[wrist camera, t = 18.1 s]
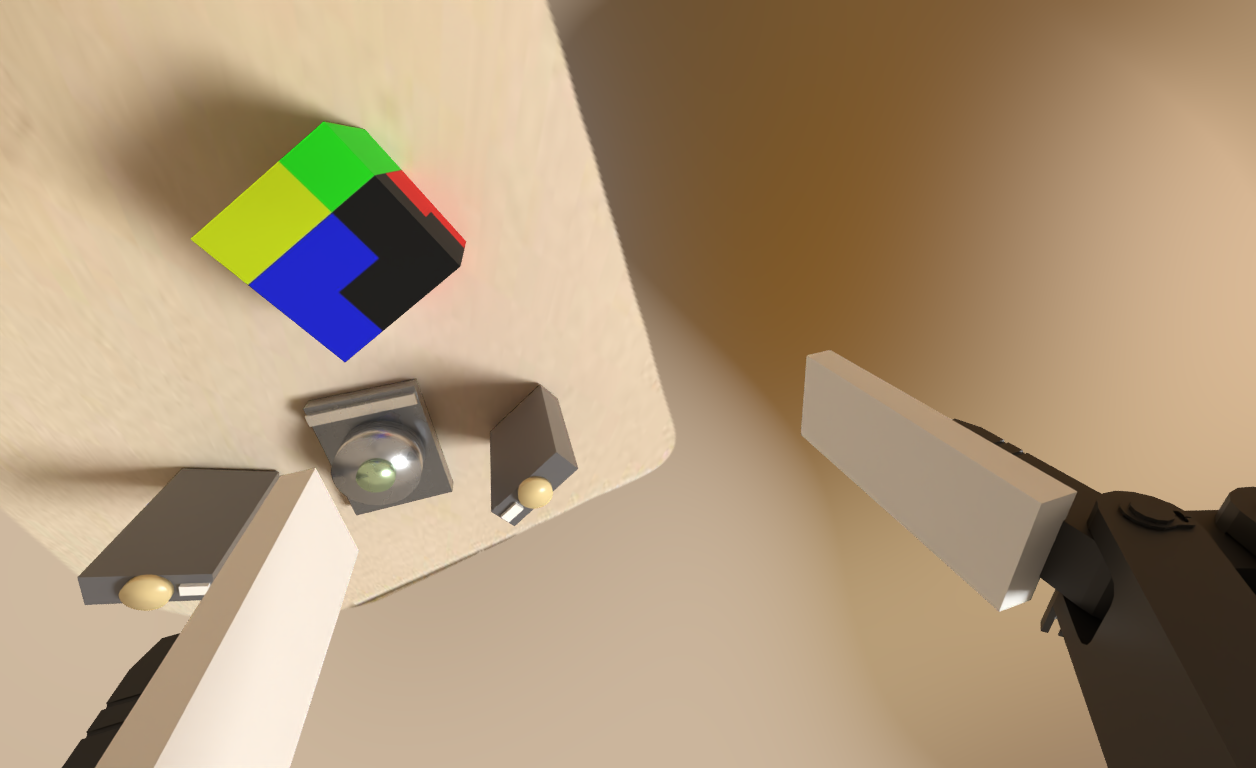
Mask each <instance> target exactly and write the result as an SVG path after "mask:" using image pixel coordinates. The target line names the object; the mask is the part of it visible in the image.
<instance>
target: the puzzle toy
mask: <svg viewBox="0 0 1256 768" xmlns="http://www.w3.org/2000/svg"><path fill="white" fill-rule="evenodd" d="M191 240H192V241H193V242H195V243H196V244H197V245H198V246H200V247H201V248H202V249H203V250H205V251H206V252H207V253H208V254H210V255H211V256H212V257H213V258H215V259H216V260H217V261H218V262H220V263H221V264H222V265H223V266H225V267H226V268H227V269H228V270H230V271H231V272H232V273H233V274H235V275H236V276H237V277H239V278H240V279H241V280H242V281H244V282H245V283H246V284H247V285H249V286H250V287H251V288H252V289H254V290H255V291H256V292H257V293H259V294H260V295H261V296H262V297H264V298H265V299H266V300H267V301H269V302H270V303H271V304H272V305H274V306H275V307H276V308H277V309H279V310H280V311H281V312H282V313H284V314H285V315H286V316H287V317H289V318H290V319H291V320H292V321H294V322H295V323H296V324H297V325H299V326H300V327H301V328H302V329H304V330H305V331H306V332H307V333H309V334H310V335H311V336H312V337H314V338H315V339H316V340H318V341H319V342H320V343H321V344H323V345H324V346H325V347H326V348H328V349H329V350H330V351H331V352H333V353H334V354H335V355H336V356H338V357H339V358H340V359H341V360H343V361H344V362H346V361H347V360H349V359H350V358H351V357H352V356H353V355H355V354H356V353H357V352H358V351H359V350H361V349H362V348H363V347H364V346H365V345H367V344H368V343H369V342H370V341H371V340H373V339H374V338H375V337H376V336H377V335H379V334H380V333H381V332H382V331H383V330H385V329H386V328H387V327H388V326H389V325H391V324H392V323H393V322H394V321H395V320H397V319H398V318H399V317H400V316H401V315H403V314H404V313H405V312H406V311H407V310H409V309H410V308H411V307H412V306H413V305H415V304H416V303H417V302H418V301H419V300H421V299H422V298H423V297H424V296H425V295H427V294H428V293H429V292H430V291H432V290H433V289H434V288H435V287H436V286H438V285H439V284H440V283H441V282H442V281H444V280H445V279H446V278H447V277H448V276H450V275H451V274H452V273H453V272H454V271H456V270H457V269H458V268H459V267H460V266H461V261H462V257H463V253H464V248H465V244H466V241H465V240H464V239H463V238H462V236H461V235H460V234H459V233H458V232H457V231H456V230H455V229H454V228H453V226H452V225H451V224H450V223H449V222H448V221H447V220H446V219H445V218H444V217H443V215H442V214H441V213H440V212H439V211H438V210H437V209H436V208H435V207H434V205H433V204H432V203H431V202H430V201H429V200H428V199H427V198H426V197H425V195H424V194H423V193H422V192H421V191H420V190H419V189H418V188H417V187H416V186H415V184H414V183H413V182H412V181H411V180H410V179H409V178H408V177H407V176H406V174H405V173H404V172H403V171H402V170H401V169H400V168H399V167H398V166H397V164H396V163H395V162H394V161H393V160H392V159H391V158H390V157H389V156H388V154H387V153H386V152H385V151H384V150H383V149H382V148H381V147H380V146H379V145H378V143H377V142H376V141H375V140H374V139H373V138H372V137H371V136H370V135H369V133H368V132H367V131H366V130H365V129H361V128H356V127H350V126H345V125H340V124H335V123H330V122H325V121H324V122H322V123H321V124H320V125H319V126H318V127H317V128H316V129H315V130H313V131H312V132H311V133H310V134H309V135H308V136H307V137H305V138H304V139H303V140H302V141H301V142H300V143H299V144H297V145H296V146H295V147H294V148H293V149H292V150H291V151H290V152H288V153H287V154H286V155H285V156H284V157H283V158H282V159H280V160H279V161H278V162H277V163H276V164H275V165H274V166H273V167H271V168H270V169H269V170H268V171H267V172H266V173H265V174H263V175H262V176H261V177H260V178H259V179H258V180H257V181H256V182H254V183H253V184H252V185H251V186H250V187H249V188H248V189H246V190H245V191H244V192H243V193H242V194H241V195H240V196H239V197H237V198H236V199H235V200H234V201H233V202H232V203H231V204H229V205H228V206H227V207H226V208H225V209H224V210H223V211H222V212H220V213H219V214H218V215H217V216H216V217H215V218H214V219H212V220H211V221H210V222H209V223H208V224H207V225H206V226H205V227H203V228H202V229H201V230H200V231H199V232H198V233H197V234H195V235H194V236H193V237H192V238H191Z"/></svg>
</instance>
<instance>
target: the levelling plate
mask: <svg viewBox="0 0 1256 768" xmlns="http://www.w3.org/2000/svg"><path fill="white" fill-rule="evenodd" d="M303 410H304V412H305V414H306V416H305V419H306V421H307V423H308V425H309V427H312V428H313V430H314V432H315V434H316V436H317V438H318V440H319V442H320V444H321V446H322V448H323V450H324V452H325V454H326V456H327V458H328V460H329V462H330V464H331V466H332V467H331V475H332V479H333V481H334V484H335V485H336V487H337V488H338V489H339V491H341V492H342V493H343V494H344V495H345V496H347V498H348V500H349V502H350V504H351V506H352V508H353V510H354V512H355V514H356V515H360V514H364V513H368V512H372V511H376V510H380V509H384V508H388V507H392V506H396V505H400V504H404V503H408V502H412V501H416V500H420V499H424V498H428V497H432V496H436V495H440V494H444V493H448V492H452V490H453V480H452V477H451V475H450V472H449V469H448V466H447V463H446V461H445V458H444V455H443V452H442V449H441V447H440V444H439V441H438V438H437V435H436V433H435V430H434V427H433V424H432V421H431V419H430V416H429V413H428V410H427V407H426V405H425V402H424V399H423V396H422V393H421V391H420V388H419V385H418V382H417V379H413V380H408V381H403V382H398V383H394V384H389V385H384V386H379V387H374V388H369V389H364V390H359V391H354V392H349V393H345V394H340V395H335V396H330V397H325V398H320V399H315V400H310V401H308V403H307V404H306V406H305V407H304V408H303Z"/></svg>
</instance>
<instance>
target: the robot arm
mask: <svg viewBox="0 0 1256 768" xmlns="http://www.w3.org/2000/svg"><path fill="white" fill-rule="evenodd" d="M801 435H802V436H803V437H804V438H805V439H806V440H808V441H809V442H810V443H811V444H812V445H813V446H814V447H815V448H816V449H818V450H819V451H820V452H821V453H822V454H823V455H824V456H825V457H827V458H828V459H829V460H830V461H831V462H832V463H833V464H834V465H835V466H837V467H838V468H839V469H840V470H841V471H842V472H843V473H845V474H846V475H847V476H848V477H849V478H850V479H851V480H852V481H853V482H855V483H856V484H857V485H858V486H859V487H860V488H862V490H863V491H865V492H866V493H867V494H868V495H869V496H870V497H871V498H873V499H874V500H875V501H876V502H877V503H878V504H879V505H880V506H881V507H883V508H884V509H885V510H886V511H887V512H888V513H889V514H890V515H891V516H893V517H894V518H895V519H896V520H897V521H898V522H899V523H900V524H902V525H903V526H904V527H905V528H906V529H907V530H908V531H910V532H911V533H912V534H913V535H914V536H915V537H916V538H917V539H918V540H919V541H921V542H922V543H923V544H924V545H925V546H926V547H927V548H928V549H929V550H931V551H932V552H933V553H934V554H935V555H936V556H937V557H938V558H940V559H941V560H942V561H943V562H944V563H945V564H946V565H947V566H949V567H950V568H951V569H952V570H953V571H954V572H955V573H956V574H957V575H959V576H960V577H961V578H962V579H963V580H964V581H965V582H967V584H969V585H970V586H971V587H972V588H973V589H974V590H975V591H977V592H978V593H979V594H980V595H981V596H982V597H983V598H984V599H985V600H987V601H988V602H989V603H990V604H991V605H992V606H993V607H994V608H996V609H997V610H998V611H1002V610H1005V609H1007V608H1010V607H1013V606H1016V605H1018V604H1021V603H1024V602H1026V601H1029V600H1031V598H1032V596H1033V593H1034V591H1035V589H1036V586H1037V584H1038V582H1039V580H1040V578H1042V579H1043V580H1044V581H1046V582H1047V583H1048V584H1050V585H1051V586H1052V587H1054V588H1055V592H1054V594H1053V596H1052V598H1051V600H1050V602H1049V605H1048V607H1047V609H1046V611H1045V613H1044V615H1043V618H1042V620H1041V631H1043V632H1047V633H1048V632H1049V630H1050V628H1051V625H1052V623H1053V621H1054V619H1058V622H1059V625H1060V628H1061V629H1060V631H1059V633H1058V635H1059V636H1062V637H1064V640H1065V643H1066V646H1067V649H1068V652H1069V655H1070V658H1071V660H1072V663H1073V666H1074V669H1075V672H1076V675H1077V678H1078V681H1079V684H1080V687H1081V690H1082V693H1083V696H1084V698H1085V702H1086V705H1087V707H1088V710H1089V713H1090V716H1091V719H1092V722H1093V725H1094V728H1095V731H1096V734H1097V736H1098V740H1099V743H1100V746H1101V749H1102V752H1103V754H1104V757H1105V760H1106V763H1107V766H1108V768H1256V487H1244V488H1237V489H1235V490H1233V491H1232V492H1230V493H1229V495H1228V496H1227V498H1226V499H1225V501H1224V503H1223V504H1222V506H1221V508H1220V509H1219V510H1205V511H1204V510H1202V511H1184V510H1182V509H1180V508H1178V507H1176V506H1175V505H1173V504H1171V503H1168V502H1165V501H1163V500H1160V499H1158V498H1155V497H1152V496H1148V495H1143V494H1139V493H1135V492H1126V491H1113V492H1108V493H1103V494H1101V493H1099V492H1097V491H1095V490H1093V489H1091V488H1090V487H1088V486H1086V485H1084V484H1082V483H1081V482H1079V481H1077V480H1075V479H1074V478H1072V477H1070V476H1068V475H1066V474H1065V473H1063V472H1061V471H1059V470H1057V469H1056V468H1054V467H1052V466H1050V465H1048V464H1046V463H1045V462H1043V461H1041V460H1039V459H1037V458H1036V457H1034V456H1032V455H1030V454H1028V453H1026V454H1024V453H1023V450H1021V449H1019V448H1017V447H1016V446H1014V445H1012V444H1010V443H1005V442H1004V440H1003V439H1001V438H1000V437H997V436H996V435H994V434H992V433H991V432H988V431H987V430H985V429H983V428H981V427H978V426H975V425H972V424H969V423H966V422H963V421H960V420H957V419H953V420H951V419H950V418H948V417H946V416H944V415H943V414H941V413H939V412H937V411H935V410H934V409H932V408H930V407H929V406H927V405H925V404H923V403H922V402H920V401H918V400H916V399H915V398H913V397H911V396H909V395H908V394H906V393H904V392H903V391H901V390H899V389H897V388H895V387H894V386H892V385H890V384H888V383H887V382H885V381H883V380H882V379H880V378H878V377H876V376H875V375H873V374H871V373H869V372H868V371H866V370H864V369H862V368H861V367H859V366H857V365H855V364H854V363H852V362H850V361H848V360H846V359H845V358H843V357H841V356H840V355H838V354H836V353H834V352H832V351H831V350H829V351H824V352H820V353H815V354H811V355H807V361H806V374H805V387H804V400H803V414H802V427H801ZM358 552H359V550H358V548H357V546H356V544H355V542H354V540H353V539H352V537H351V535H350V533H349V531H348V529H347V527H346V525H345V523H344V521H343V519H342V517H341V515H340V514H339V512H338V510H337V508H336V506H335V504H334V502H333V500H332V498H331V496H330V494H329V492H328V491H327V489H326V487H325V485H324V483H323V481H322V479H321V477H320V475H319V473H318V471H317V469H316V468H312V469H308V470H304V471H299V472H295V473H291V474H286V475H282V476H280V477H279V479H278V480H277V482H276V484H275V485H274V487H273V488H272V490H271V491H270V493H269V495H268V496H267V498H266V499H265V501H264V502H263V504H262V506H261V507H260V509H259V510H258V512H257V513H256V515H255V517H254V518H253V520H252V521H251V523H250V524H249V526H248V528H247V529H246V531H245V532H244V534H243V535H242V537H241V539H240V540H239V542H238V543H237V545H236V546H235V548H234V550H233V551H232V553H231V554H230V556H229V557H228V559H227V561H226V562H225V564H224V565H223V567H222V569H221V570H220V572H219V573H218V575H217V576H216V578H215V580H214V581H213V583H212V584H211V586H210V587H209V589H208V591H207V592H206V594H205V595H204V597H203V598H202V600H201V602H200V603H199V605H198V606H197V608H196V609H195V611H194V613H193V614H192V616H191V617H190V619H189V620H188V622H187V624H186V625H185V627H184V628H183V630H182V631H181V633H179V634H176V635H172V636H168V637H165V638H162V639H161V640H160V641H159V642H158V643H157V644H156V645H155V646H154V647H152V648H151V649H150V650H149V651H148V652H147V653H146V654H145V655H144V656H143V657H142V658H141V659H140V660H139V661H138V662H137V663H136V664H135V665H134V666H133V667H132V668H131V669H130V670H129V671H128V673H127V674H126V675H125V677H124V678H123V680H122V681H121V683H120V684H119V686H118V687H117V689H116V690H115V691H114V693H113V694H112V696H111V697H110V699H109V700H108V702H107V708H106V709H104V710H101V712H100V713H99V715H98V716H97V718H96V719H95V720H94V722H93V723H92V725H91V726H90V728H89V729H88V731H87V737H86V738H85V739H82V740H81V741H80V742H79V744H78V745H77V747H76V748H75V749H74V751H73V752H72V754H71V755H70V757H69V758H68V760H67V761H66V763H65V764H64V765H63V767H62V768H290V765H291V762H292V759H293V756H294V753H295V750H296V746H297V743H298V740H299V737H300V734H301V731H302V728H303V725H304V721H305V718H306V715H307V712H308V709H309V706H310V703H311V699H312V696H313V693H314V690H315V687H316V684H317V680H318V677H319V674H320V671H321V668H322V665H323V662H324V659H325V655H326V652H327V649H328V646H329V643H330V639H331V636H332V634H333V630H334V627H335V624H336V621H337V618H338V615H339V612H340V608H341V605H342V602H343V599H344V596H345V593H346V590H347V586H348V583H349V580H350V577H351V574H352V571H353V568H354V564H355V561H356V558H357V555H358Z"/></svg>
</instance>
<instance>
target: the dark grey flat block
mask: <svg viewBox="0 0 1256 768" xmlns="http://www.w3.org/2000/svg"><path fill="white" fill-rule="evenodd" d="M278 479H279V472H271V471H242V470H212V469H183V468H182V469H181V470H180V471H179V472H178V473H177V474H176V475H175V477H174V478H173V479H172V480H171V481H170V482H169V483H168V484H167V485H166V486H165V487H164V488H163V489H162V490H161V491H160V492H159V493H158V494H157V495H156V496H155V497H154V498H153V499H152V500H151V501H150V503H149V504H148V505H147V506H146V507H145V508H144V509H143V510H142V511H141V512H140V513H139V514H138V515H137V516H136V517H135V518H134V519H133V520H132V521H131V522H130V523H129V524H128V525H127V526H126V527H125V529H124V530H123V531H122V532H121V533H120V534H119V535H118V536H117V537H116V538H115V539H114V540H113V541H112V542H111V543H110V544H109V545H108V546H107V547H106V548H105V549H104V550H103V551H102V552H101V554H100V555H99V556H98V557H97V558H96V559H95V560H94V561H93V562H92V563H91V564H90V565H89V566H88V567H87V568H86V569H85V570H84V571H83V572H82V573H81V574H80V575H79V576H78V581H79V585H80V588H81V592H82V596H83V599H84V603H85V605H92V604H116V603H123V604H124V605H126V606H128V607H130V608H133V609H136V610H144V611H146V610H155V609H158V608H161V607H163V606H164V605H165V604H166V603H167V602H168V601H190V600H202V598H203V597H204V595H205V594H206V592H207V591H208V589H209V587H210V586H211V584H212V583H213V581H214V580H215V578H216V576H217V575H218V573H219V572H220V570H221V569H222V567H223V565H224V564H225V562H226V561H227V559H228V557H229V556H230V554H231V553H232V551H233V550H234V548H235V546H236V545H237V543H238V542H239V540H240V539H241V537H242V535H243V534H244V532H245V531H246V529H247V528H248V526H249V524H250V523H251V521H252V520H253V518H254V517H255V515H256V513H257V512H258V510H259V509H260V507H261V506H262V504H263V502H264V501H265V499H266V498H267V496H268V495H269V493H270V491H271V490H272V488H273V487H274V485H275V484H276V482H277V480H278Z"/></svg>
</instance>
